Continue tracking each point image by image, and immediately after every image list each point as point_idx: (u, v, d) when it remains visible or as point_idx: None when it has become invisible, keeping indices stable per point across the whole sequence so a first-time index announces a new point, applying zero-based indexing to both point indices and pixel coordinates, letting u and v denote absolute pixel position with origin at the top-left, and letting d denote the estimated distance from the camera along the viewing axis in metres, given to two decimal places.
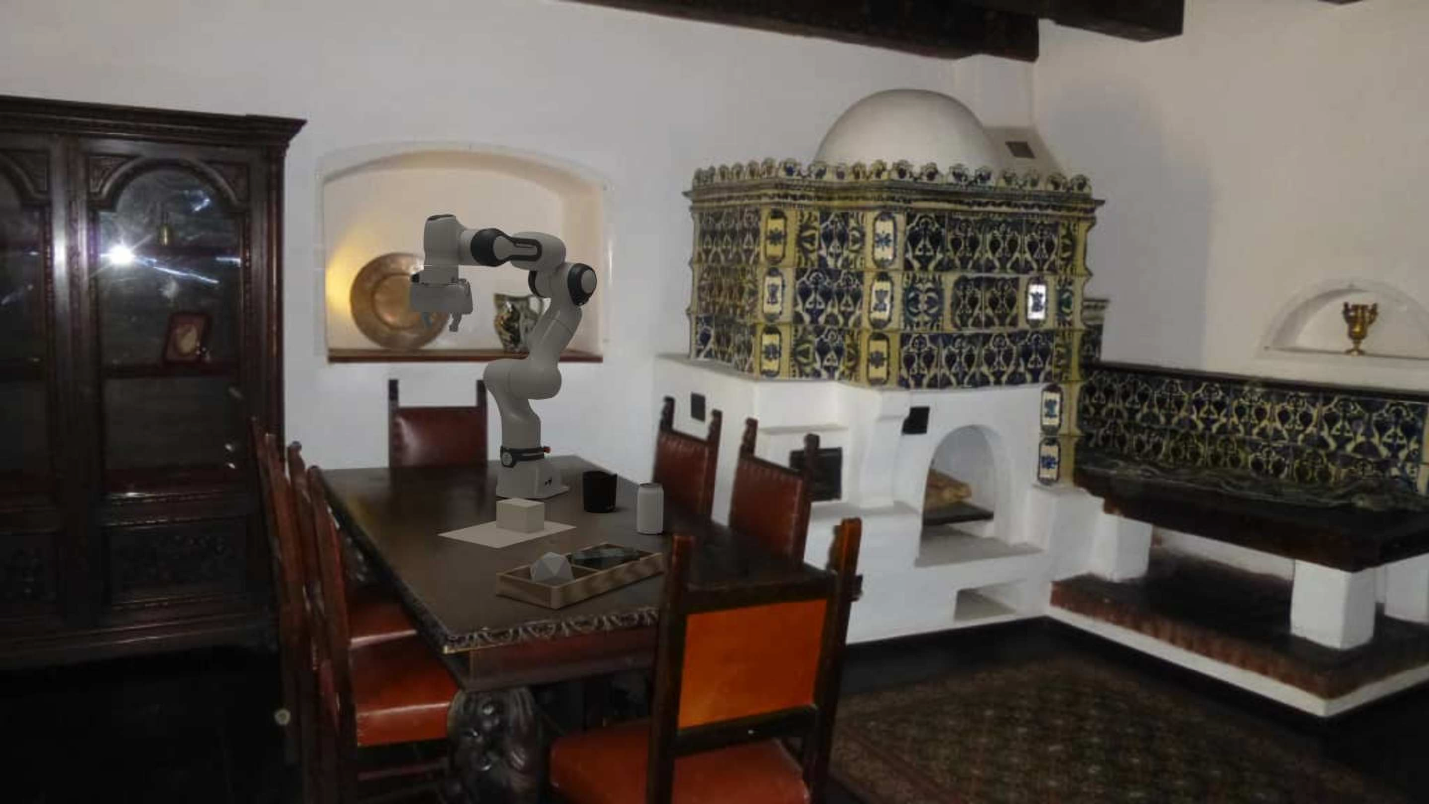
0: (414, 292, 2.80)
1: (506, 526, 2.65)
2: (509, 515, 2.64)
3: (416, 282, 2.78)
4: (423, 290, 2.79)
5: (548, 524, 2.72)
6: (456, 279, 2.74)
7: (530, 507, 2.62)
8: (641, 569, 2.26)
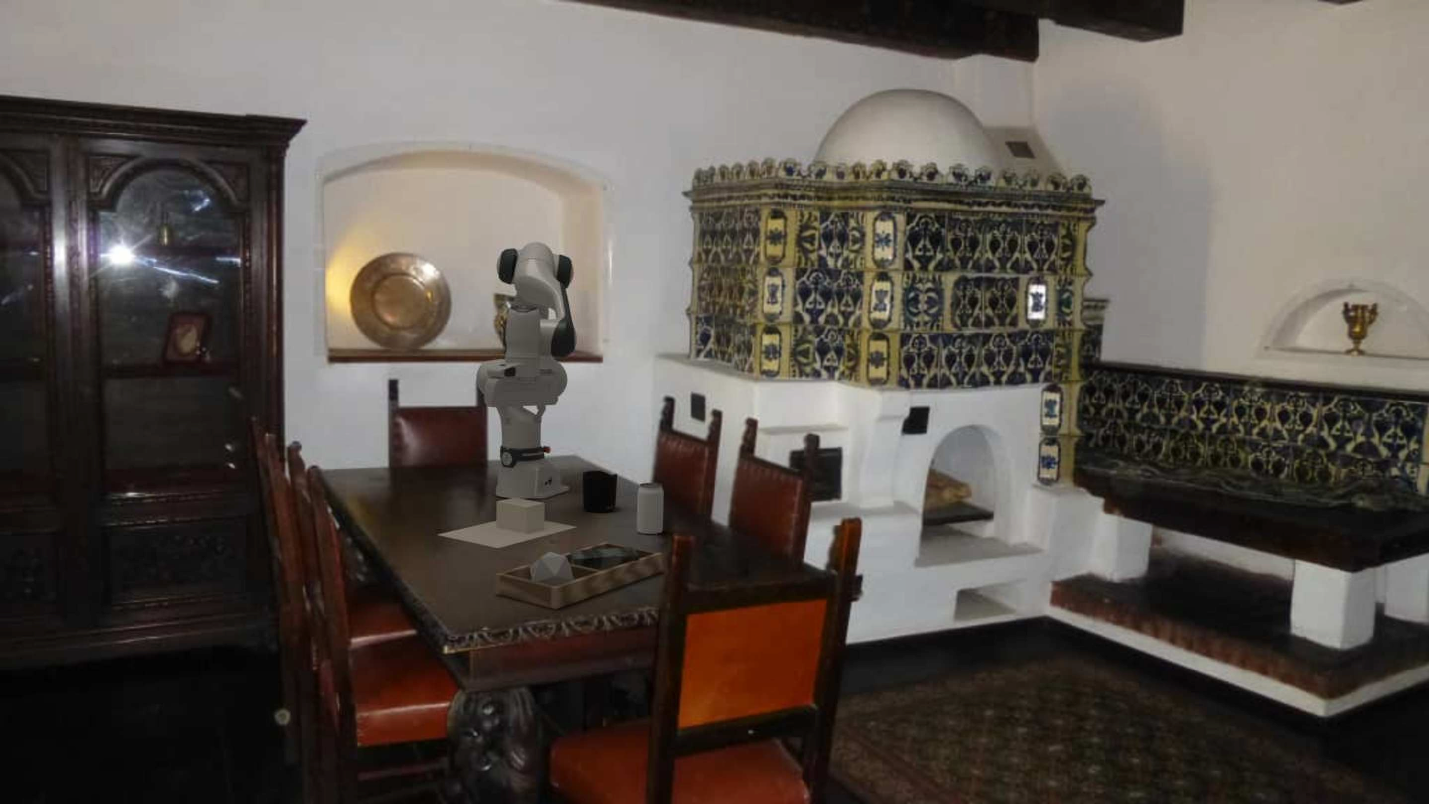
0: (500, 387, 2.65)
1: (506, 526, 2.65)
2: (509, 515, 2.64)
3: (510, 376, 2.65)
4: (512, 384, 2.67)
5: (548, 524, 2.72)
6: (543, 370, 2.75)
7: (530, 507, 2.62)
8: (641, 569, 2.26)
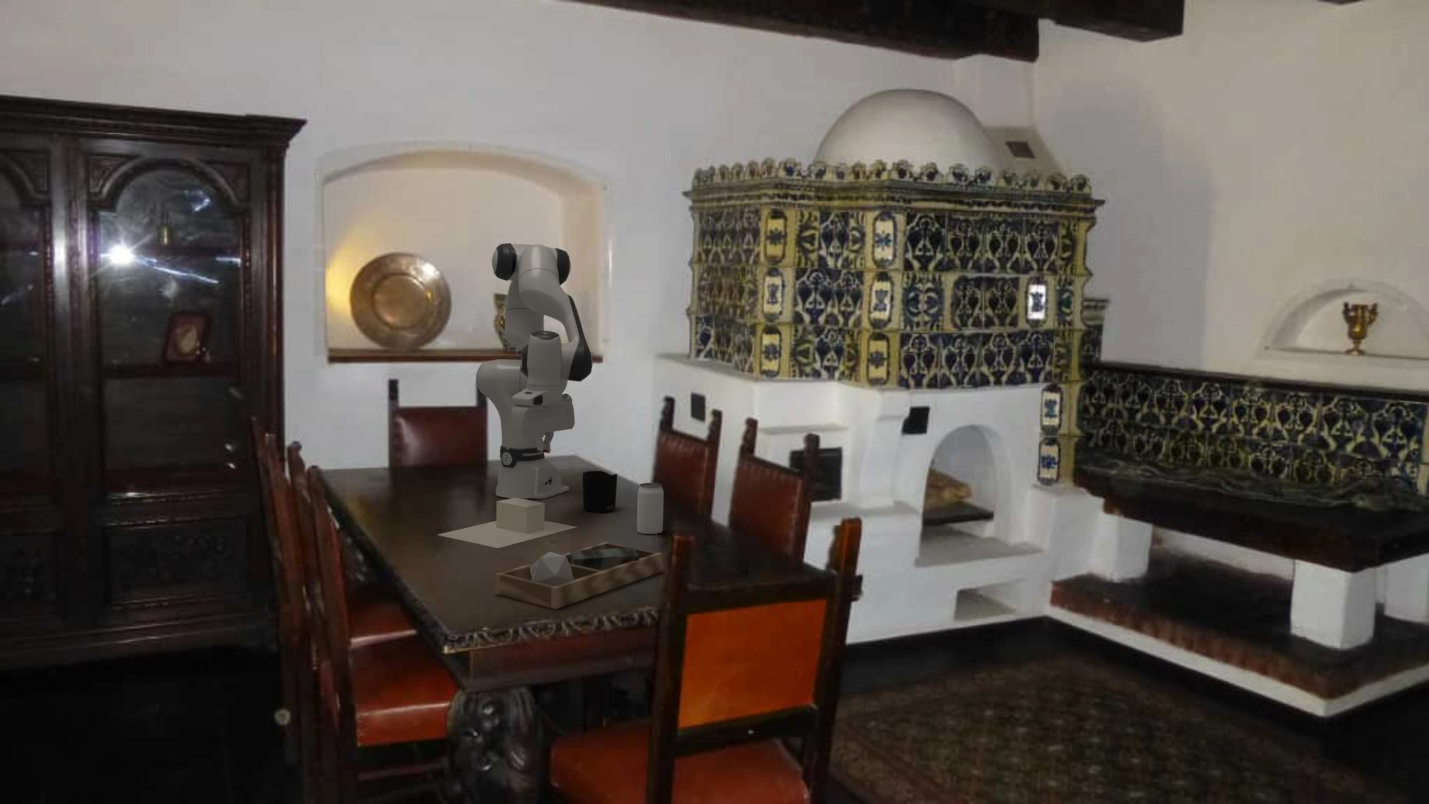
0: (528, 415, 2.63)
1: (506, 526, 2.65)
2: (509, 515, 2.64)
3: (538, 404, 2.64)
4: (538, 411, 2.66)
5: (548, 524, 2.72)
6: (561, 395, 2.75)
7: (530, 507, 2.62)
8: (641, 569, 2.26)
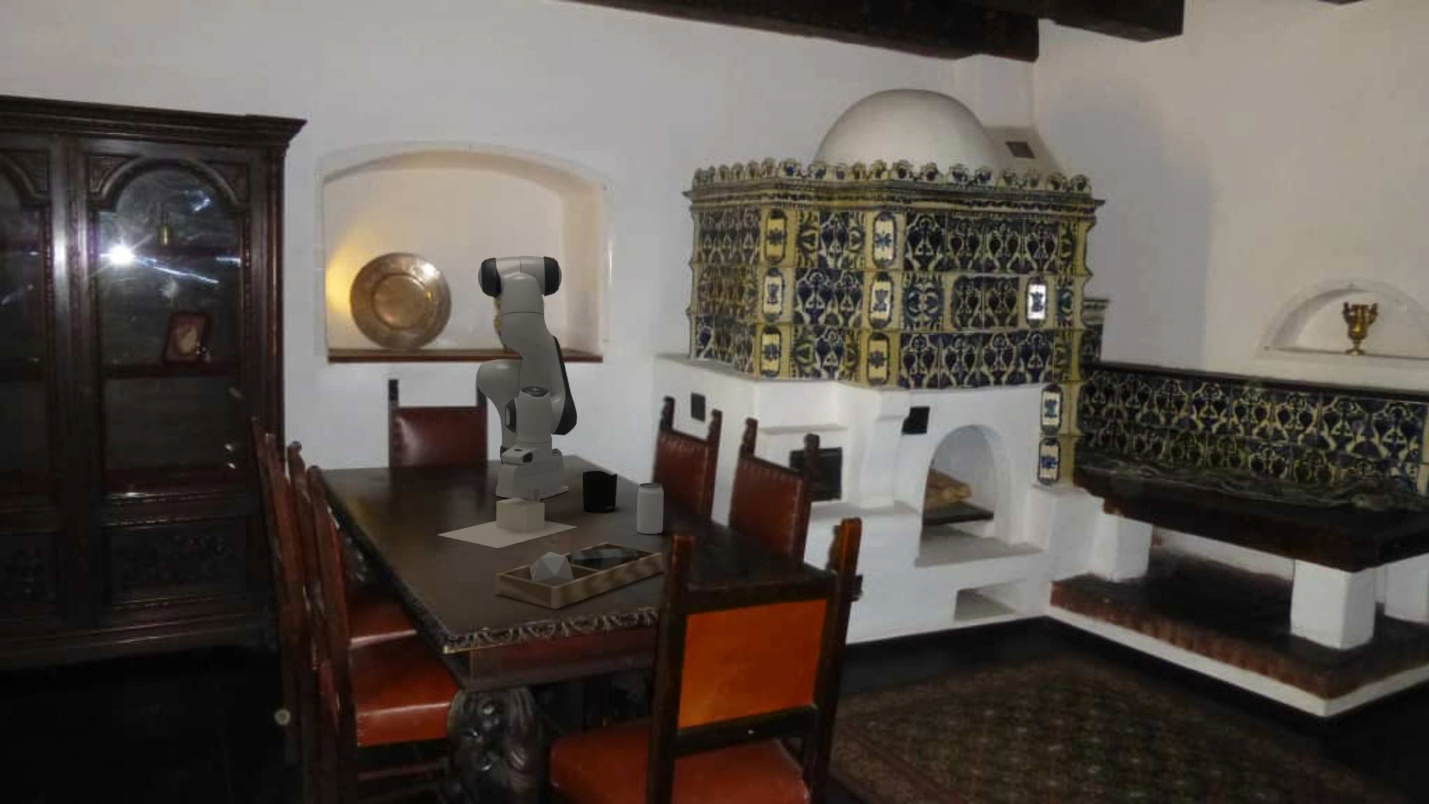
0: (518, 473, 2.62)
1: (506, 526, 2.65)
2: (509, 515, 2.64)
3: (528, 462, 2.62)
4: (527, 468, 2.64)
5: (548, 524, 2.72)
6: (551, 450, 2.74)
7: (530, 507, 2.62)
8: (641, 569, 2.26)
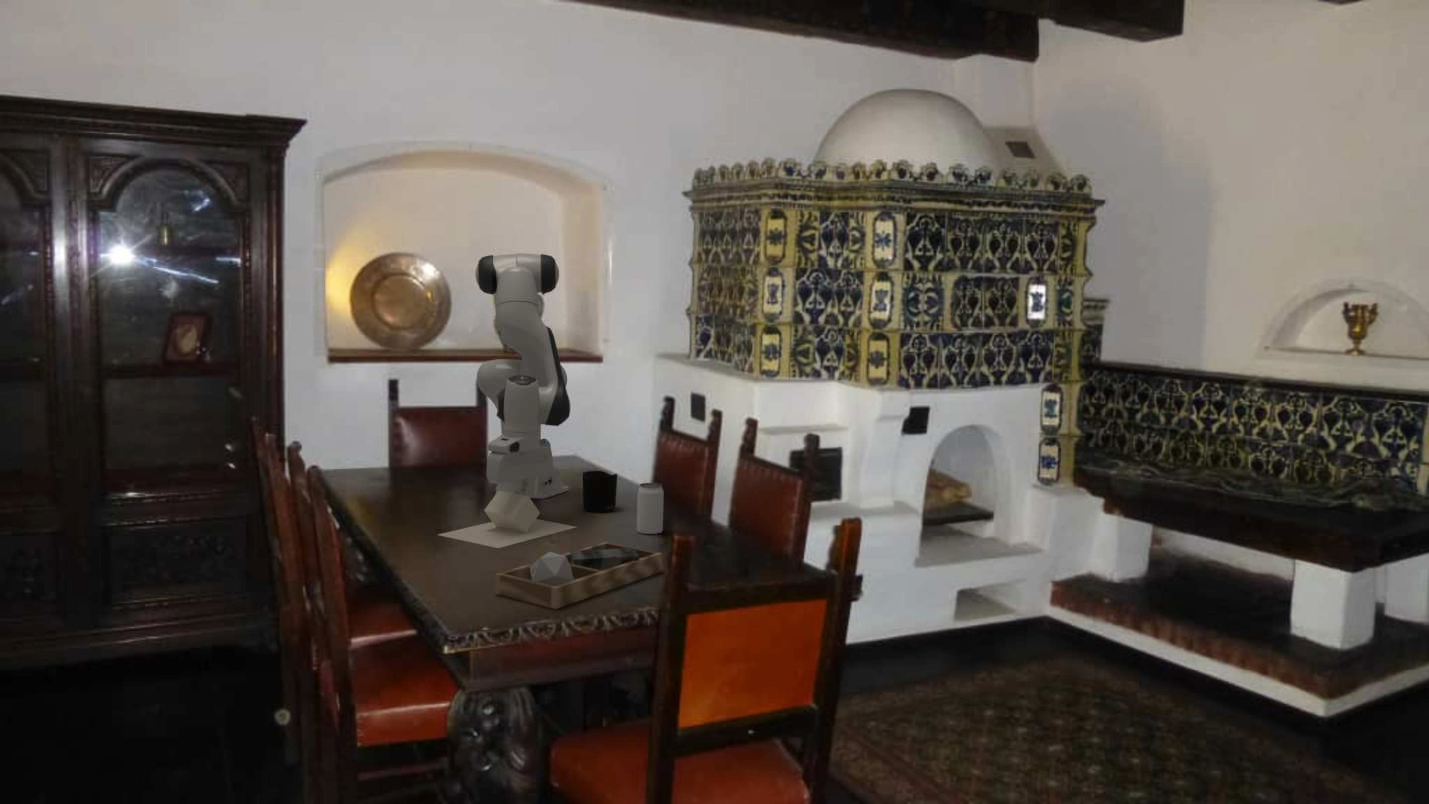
0: (504, 463, 2.58)
1: (505, 527, 2.65)
2: (502, 520, 2.62)
3: (515, 451, 2.58)
4: (514, 458, 2.60)
5: (548, 524, 2.72)
6: (539, 441, 2.69)
7: (517, 512, 2.59)
8: (641, 569, 2.26)
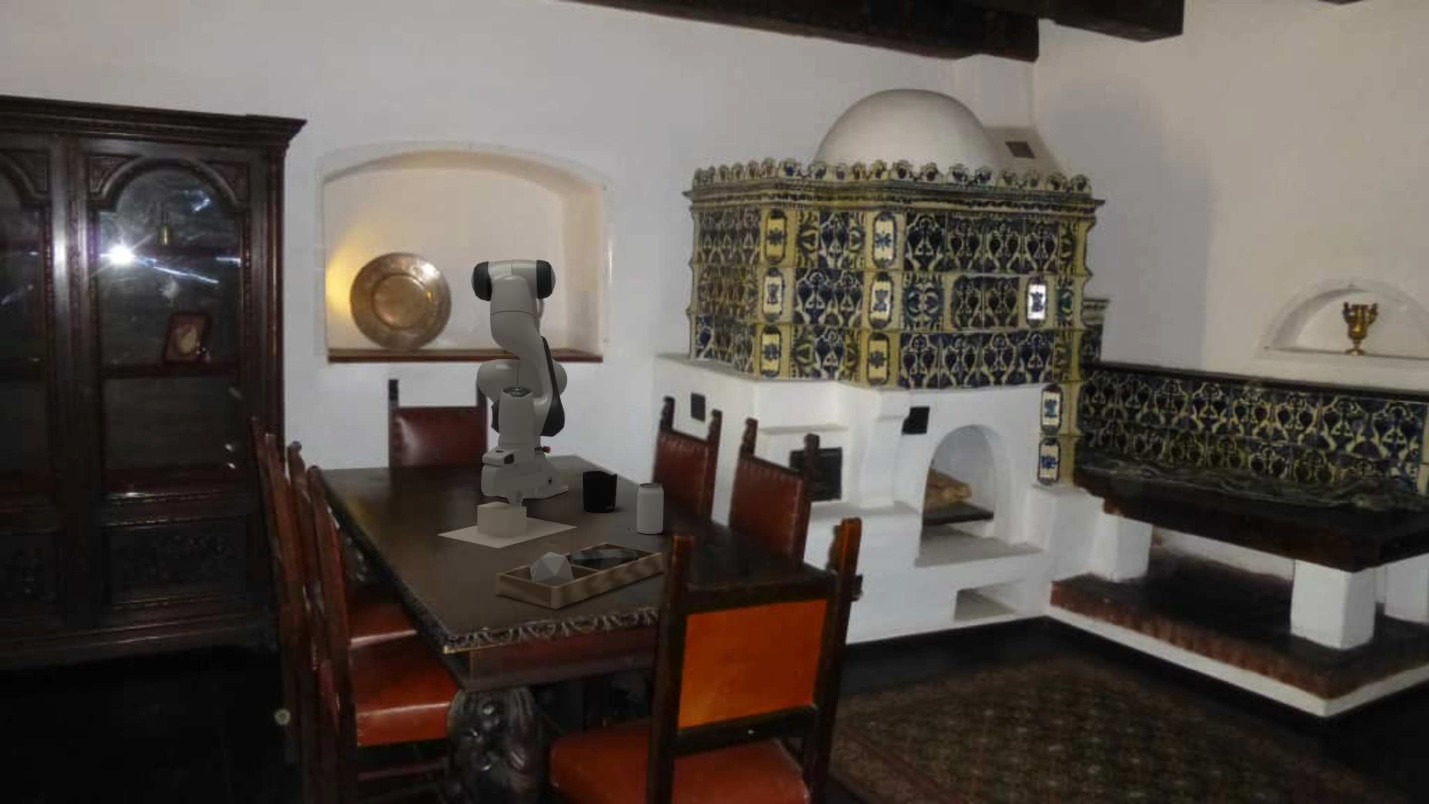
0: (499, 475, 2.56)
1: None
2: None
3: (509, 463, 2.57)
4: (509, 470, 2.59)
5: (548, 524, 2.72)
6: (534, 452, 2.68)
7: (508, 532, 2.56)
8: (641, 569, 2.26)
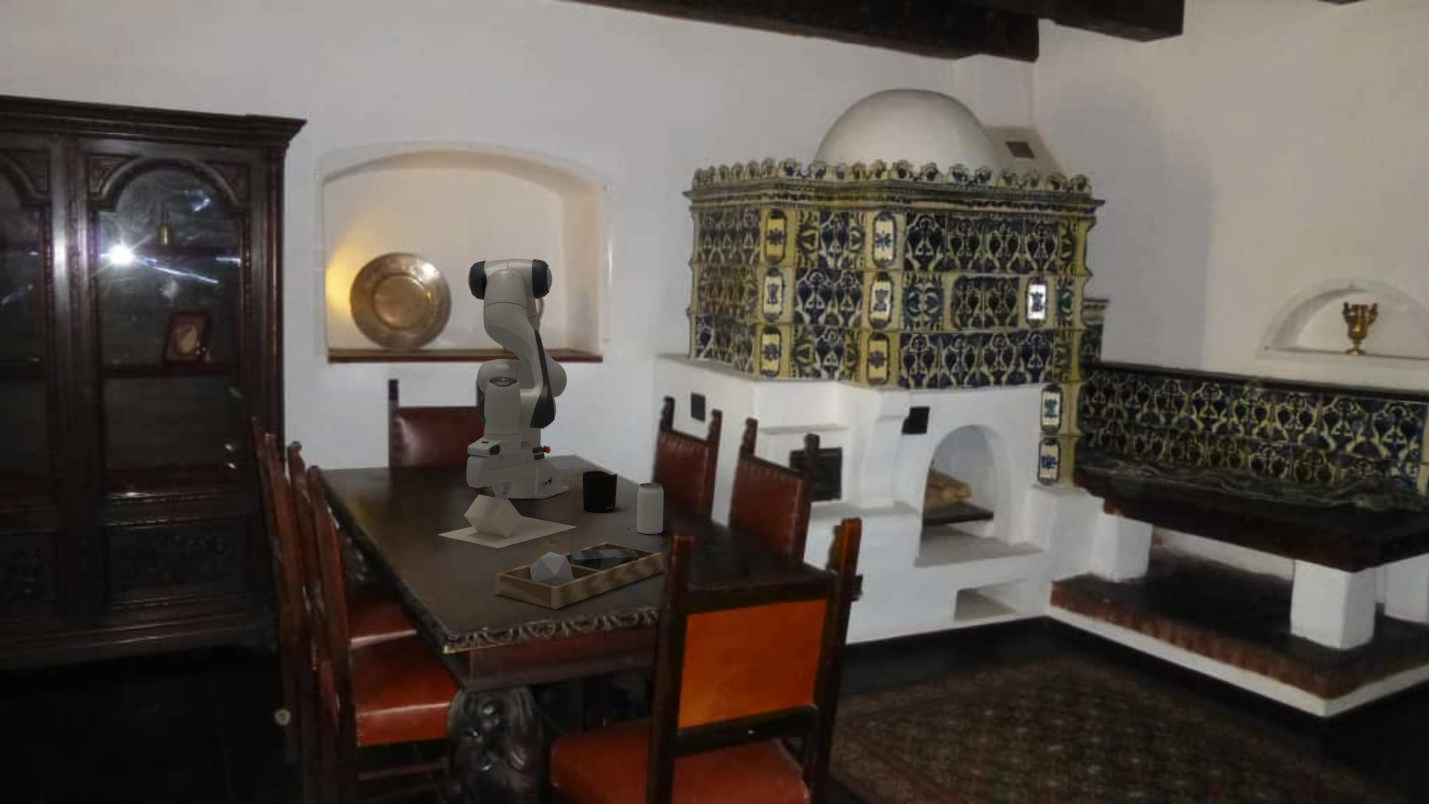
0: (485, 466, 2.52)
1: None
2: None
3: (495, 454, 2.53)
4: (495, 461, 2.55)
5: (548, 524, 2.72)
6: (521, 443, 2.64)
7: (505, 533, 2.55)
8: (641, 569, 2.26)
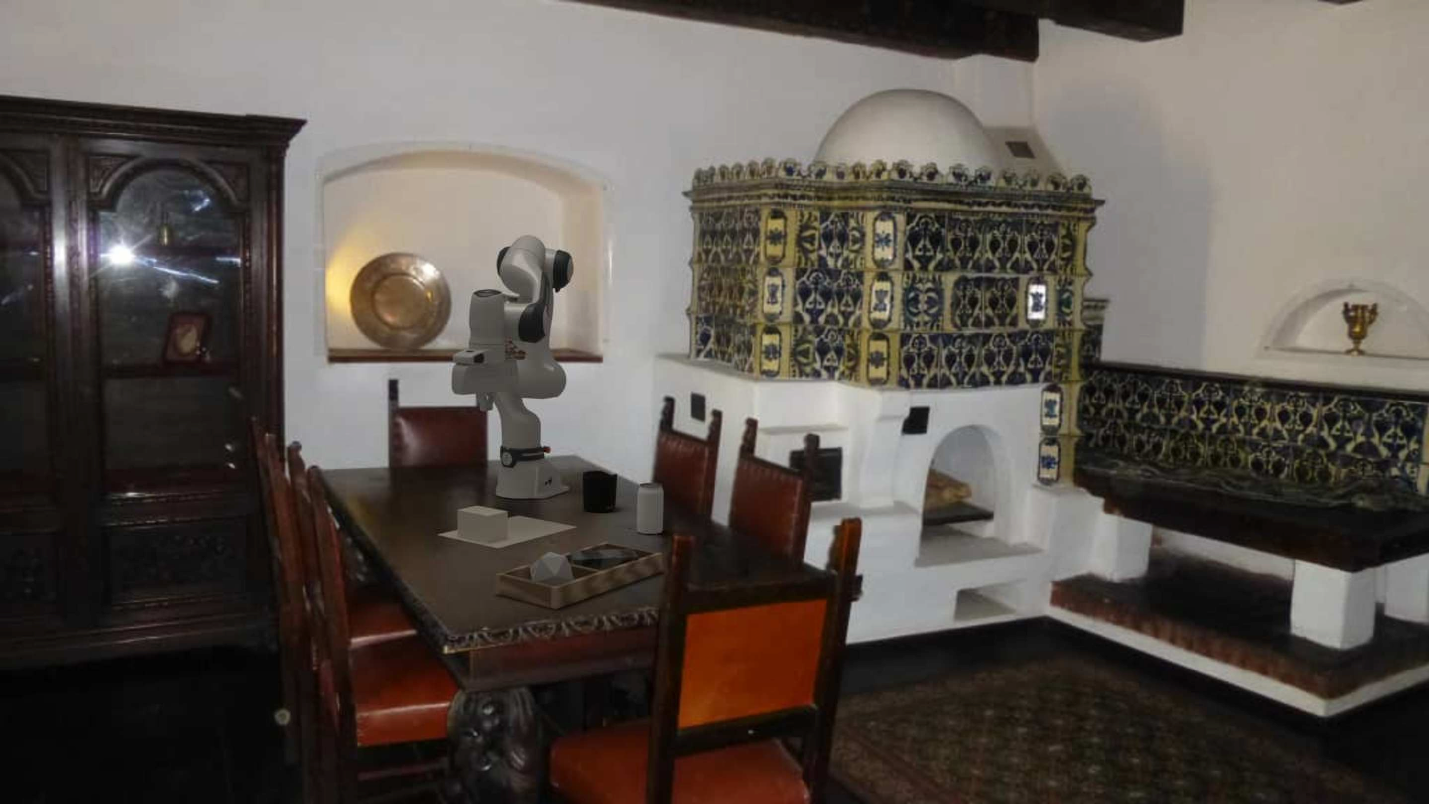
0: (469, 374, 2.59)
1: None
2: None
3: (479, 363, 2.60)
4: (479, 370, 2.62)
5: (548, 524, 2.72)
6: (505, 355, 2.71)
7: (503, 538, 2.55)
8: (641, 569, 2.26)
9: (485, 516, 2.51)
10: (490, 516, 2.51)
